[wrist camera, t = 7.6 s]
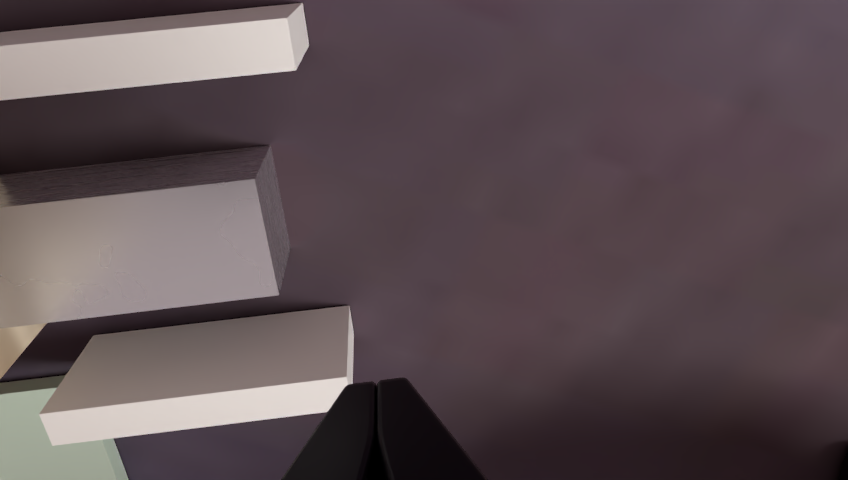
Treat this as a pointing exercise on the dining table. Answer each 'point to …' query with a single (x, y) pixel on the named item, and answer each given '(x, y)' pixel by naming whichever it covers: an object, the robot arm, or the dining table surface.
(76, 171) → the bar
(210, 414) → the channel
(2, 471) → the mat
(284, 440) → the dining table surface
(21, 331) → the block
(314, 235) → the dining table surface
